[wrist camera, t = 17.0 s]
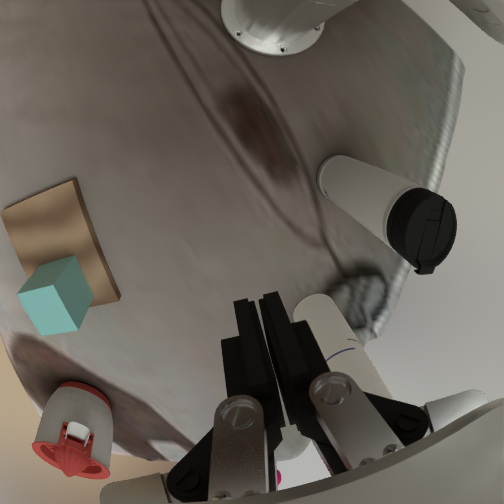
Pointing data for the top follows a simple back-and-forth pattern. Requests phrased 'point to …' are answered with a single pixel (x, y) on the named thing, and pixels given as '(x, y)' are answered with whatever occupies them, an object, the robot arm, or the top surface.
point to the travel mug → (392, 209)
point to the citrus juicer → (76, 431)
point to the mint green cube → (56, 296)
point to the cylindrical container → (339, 343)
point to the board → (60, 237)
